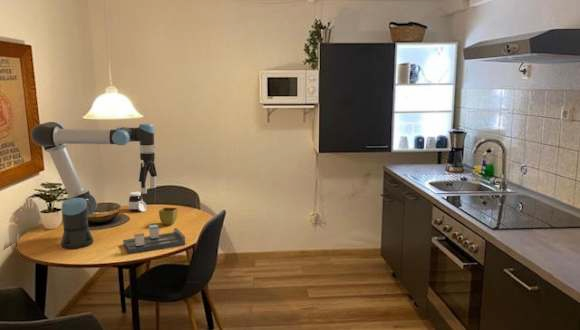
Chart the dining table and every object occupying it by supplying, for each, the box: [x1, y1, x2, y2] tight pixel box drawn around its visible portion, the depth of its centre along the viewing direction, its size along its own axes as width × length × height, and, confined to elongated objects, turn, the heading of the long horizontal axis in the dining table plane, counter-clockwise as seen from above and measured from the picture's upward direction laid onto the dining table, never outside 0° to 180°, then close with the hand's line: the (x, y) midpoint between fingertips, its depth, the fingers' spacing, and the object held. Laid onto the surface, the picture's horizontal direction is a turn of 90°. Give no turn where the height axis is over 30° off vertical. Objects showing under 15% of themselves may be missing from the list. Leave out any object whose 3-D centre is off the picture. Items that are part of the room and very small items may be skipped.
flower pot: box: [158, 207, 179, 226], centre depth 276 cm, size 9×9×9 cm
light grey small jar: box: [148, 224, 160, 239], centre depth 244 cm, size 4×4×6 cm
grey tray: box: [122, 227, 186, 255], centre depth 241 cm, size 28×16×5 cm, turn 119°
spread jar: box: [128, 191, 148, 213], centre depth 306 cm, size 12×11×12 cm
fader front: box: [133, 230, 145, 246], centre depth 233 cm, size 4×4×6 cm
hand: (148, 190), depth 255 cm, fingers open, 13 cm apart
